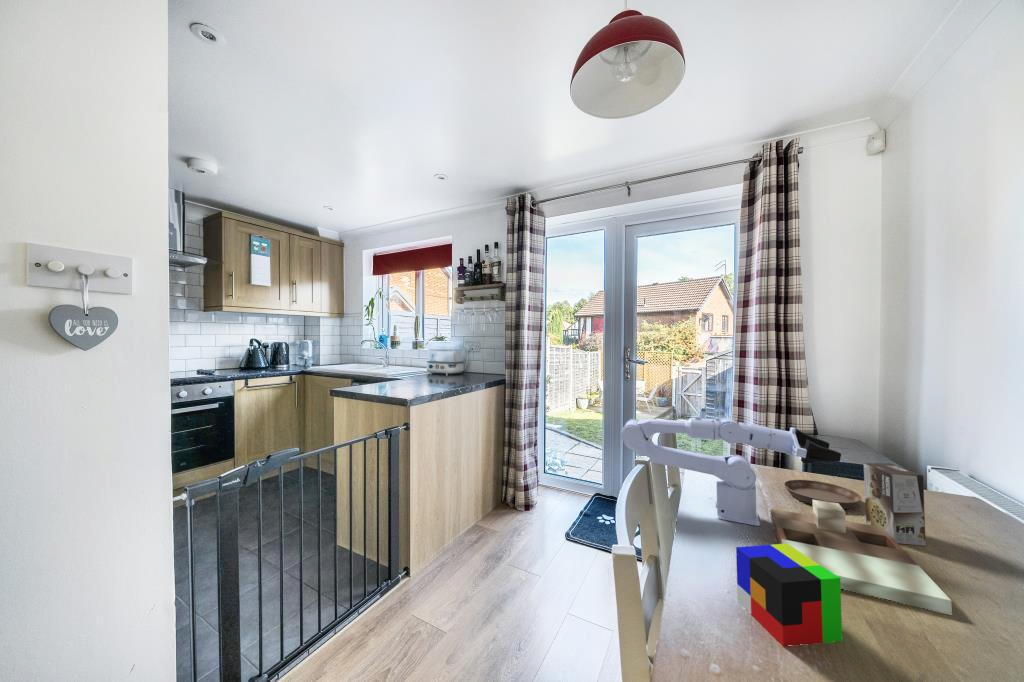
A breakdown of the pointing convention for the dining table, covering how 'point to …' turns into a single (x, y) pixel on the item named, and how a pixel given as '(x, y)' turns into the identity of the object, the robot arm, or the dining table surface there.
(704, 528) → the dining table surface
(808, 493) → the plant saucer
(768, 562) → the puzzle toy
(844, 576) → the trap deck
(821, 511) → the block
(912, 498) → the coffee box
